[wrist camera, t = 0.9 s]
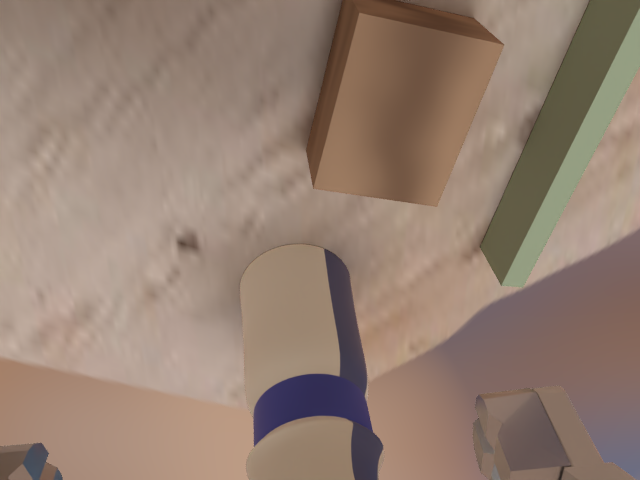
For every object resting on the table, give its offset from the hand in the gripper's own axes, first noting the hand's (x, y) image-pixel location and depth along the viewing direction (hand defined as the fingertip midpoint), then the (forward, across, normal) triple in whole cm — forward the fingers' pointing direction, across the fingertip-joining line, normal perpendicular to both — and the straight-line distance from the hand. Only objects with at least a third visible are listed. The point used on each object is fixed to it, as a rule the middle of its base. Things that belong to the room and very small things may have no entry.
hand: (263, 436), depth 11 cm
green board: (+24, -16, +5) cm, 29 cm away
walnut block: (+24, -6, +2) cm, 24 cm away
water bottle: (+24, 0, +16) cm, 29 cm away
